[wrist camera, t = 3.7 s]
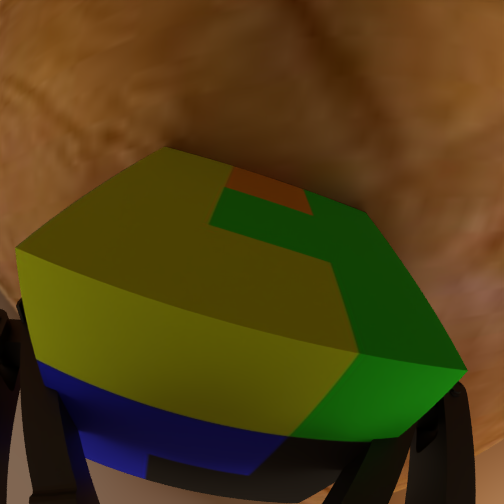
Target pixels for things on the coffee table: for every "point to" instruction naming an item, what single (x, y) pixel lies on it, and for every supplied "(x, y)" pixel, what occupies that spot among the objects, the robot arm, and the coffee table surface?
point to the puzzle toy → (228, 329)
